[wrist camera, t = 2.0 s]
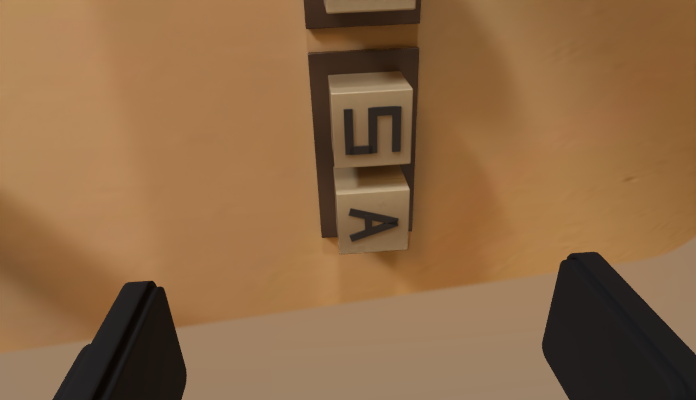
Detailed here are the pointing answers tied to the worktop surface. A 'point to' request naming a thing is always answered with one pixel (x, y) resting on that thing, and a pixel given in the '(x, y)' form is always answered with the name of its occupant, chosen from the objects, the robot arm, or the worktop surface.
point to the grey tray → (360, 13)
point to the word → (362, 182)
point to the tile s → (370, 119)
